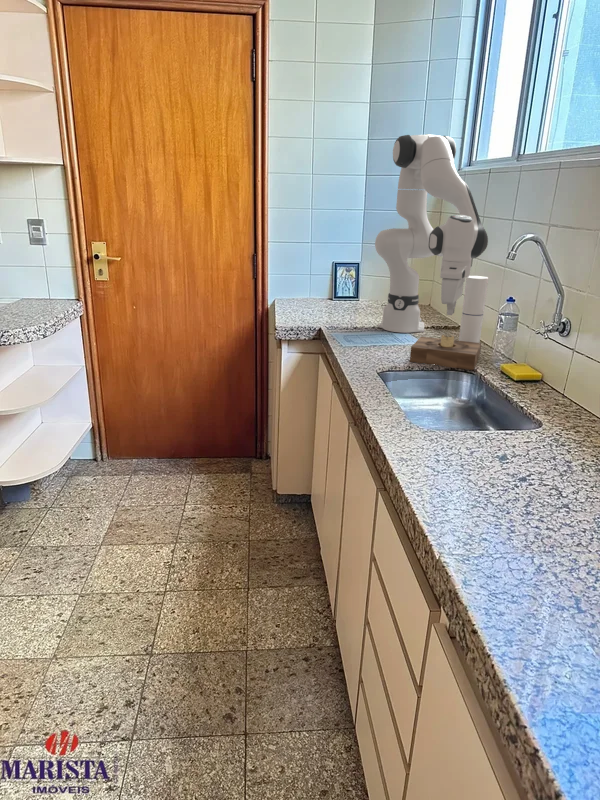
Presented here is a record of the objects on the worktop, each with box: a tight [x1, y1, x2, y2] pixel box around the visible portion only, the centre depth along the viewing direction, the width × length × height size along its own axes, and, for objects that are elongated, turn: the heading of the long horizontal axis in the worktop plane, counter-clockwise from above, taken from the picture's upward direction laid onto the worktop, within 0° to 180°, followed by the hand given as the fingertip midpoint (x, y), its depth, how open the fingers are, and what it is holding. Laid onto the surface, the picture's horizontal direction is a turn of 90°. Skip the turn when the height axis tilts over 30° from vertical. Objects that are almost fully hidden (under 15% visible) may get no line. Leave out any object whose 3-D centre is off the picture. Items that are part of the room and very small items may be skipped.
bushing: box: [440, 334, 455, 347], centre depth 180 cm, size 4×4×8 cm
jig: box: [409, 336, 482, 371], centre depth 181 cm, size 16×20×5 cm
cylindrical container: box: [458, 275, 489, 343], centre depth 192 cm, size 7×7×25 cm
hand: (450, 314), depth 176 cm, fingers closed
